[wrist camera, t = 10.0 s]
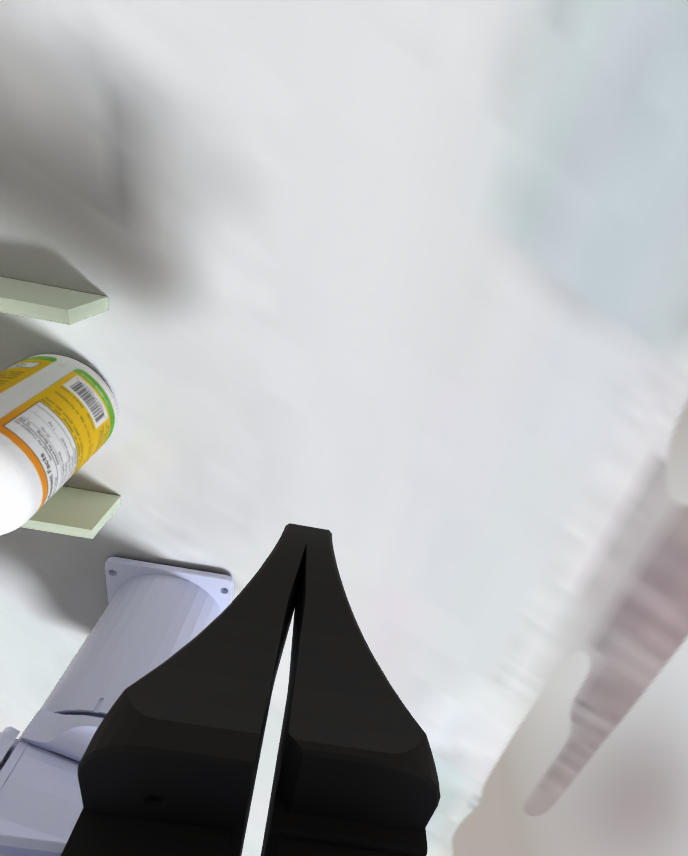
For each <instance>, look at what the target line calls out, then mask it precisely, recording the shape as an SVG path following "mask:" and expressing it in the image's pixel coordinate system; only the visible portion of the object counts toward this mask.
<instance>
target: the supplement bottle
mask: <svg viewBox="0 0 688 856" xmlns="http://www.w3.org/2000/svg"><path fill="white" fill-rule="evenodd" d="M117 422H118V408H117V404H116V401H115V399H114V396H113V394H112V392H111V390H110V389H109V387H108V386H107V384H106V383H105V382H104V381H103V379H102V378H101V377H100V376H99V375H98V374H97V373H95V372H94V371H93V370H92V369H91V368H89V367H88V366H86V365H84V364H83V363H81V362H79V361H76V360H74V359H72V358H69V357H65V356H61V355H55V354H40V355H35V356H31V357H28V358H26V359H24V360H22V361H19V362H17V363H15V364H14V365H12V366H10V367H8V368H6V369H4V370H2V371H0V535H3V534H6V533H9V532H11V531H14V530H16V529H17V528H19V527H20V526H22V525H23V524H24V523H26V522H27V521H28V520H29V519H30V518H31V517H32V516H33V515H34V514H35V513H36V512H37V511H38V510H39V509H40V508H41V507H42V506H43V505H44V504H45V503H46V502H47V501H48V500H49V499H50V498H51V497H52V496H53V495H54V494H55V493H56V492H57V491H58V490H59V489H60V488H61V487H62V486H63V485H64V484H65V482H66V481H67V480H68V479H69V478H70V477H71V476H72V475H73V474H74V473H75V472H76V471H77V470H78V469H79V468H80V467H81V466H82V465H83V464H84V463H85V462H86V461H87V460H88V459H89V458H90V457H91V456H92V455H93V454H94V453H95V452H96V451H97V450H98V449H99V448H100V447H101V446H102V445H103V444H104V443H105V442H106V441H107V440H108V439H109V438H110V436H111V435H112V434H113V432H114V430H115V428H116V425H117Z"/></svg>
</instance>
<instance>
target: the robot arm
mask: <svg viewBox="0 0 688 856" xmlns="http://www.w3.org/2000/svg"><path fill="white" fill-rule="evenodd" d="M104 566H105V577H106V587H107V598H108V606H107V608H106V609H105V611H104V612H103V614H102V615H101V617H100V618H99V620H98V621H97V623H96V624H95V626H94V628H93V629H92V631H91V632H90V634H89V635H88V637H87V638H86V640H85V641H84V643H83V644H82V646H81V648H80V649H79V651H78V652H77V654H76V655H75V657H74V658H73V660H72V661H71V663H70V664H69V666H68V668H67V669H66V671H65V672H64V674H63V675H62V677H61V678H60V680H59V681H58V683H57V684H56V686H55V688H54V689H53V691H52V692H51V694H50V695H49V697H48V698H47V700H46V701H45V703H44V704H43V706H42V707H41V709H40V710H39V711H38V712H37V714H36V715H35V717H34V718H33V719H32V721H31V722H30V724H29V725H28V726H27V728H26V729H25V730H24V732H23V733H22V735H21V736H20V737H19V739H16V737H17V736H18V734H19V732H20V731H18V730H17V729H15V728H13V727H7V728H5V729H4V730H3V732H2V733H0V856H241V854H242V849H243V843H244V838H245V833H246V827H247V822H248V817H249V811H250V806H251V801H252V795H253V790H254V785H255V779H256V774H257V769H258V763H259V758H260V753H261V748H262V742H263V737H264V732H265V726H266V721H267V716H268V710H269V705H270V700H271V695H272V690H273V686H274V682H275V677H276V674H277V670H278V666H279V663H280V659H281V656H282V652H283V648H284V645H285V641H286V637H287V634H288V630H289V627H290V623H291V619H292V616H293V612H294V608H295V612H294V624H293V637H292V649H291V662H290V675H289V685H288V693H287V700H286V706H285V713H284V719H283V725H282V731H281V737H280V743H279V749H278V755H277V761H276V768H275V774H274V780H273V786H272V792H271V798H270V804H269V810H268V816H267V822H266V828H265V834H264V840H263V846H262V852H261V856H426V855H427V840H426V830H425V827H426V826H427V824H428V822H429V820H430V818H431V817H432V815H433V813H434V811H435V809H436V808H437V806H438V803H439V800H440V790H439V781H438V776H437V772H436V767H435V763H434V759H433V755H432V752H431V748H430V745H429V742H428V739H427V736H426V734H425V732H424V731H423V730H422V728H421V727H420V726H419V725H418V723H417V722H416V721H415V719H414V718H413V717H412V715H411V714H410V712H409V711H408V710H407V708H406V707H405V706H404V704H403V703H402V701H401V700H400V698H399V697H398V695H397V694H396V692H395V691H394V689H393V688H392V686H391V685H390V683H389V682H388V680H387V678H386V676H385V675H384V673H383V671H382V670H381V668H380V666H379V665H378V663H377V661H376V660H375V658H374V656H373V654H372V653H371V651H370V649H369V647H368V645H367V643H366V641H365V639H364V637H363V635H362V633H361V631H360V628H359V626H358V624H357V622H356V619H355V617H354V615H353V612H352V610H351V607H350V605H349V602H348V599H347V597H346V594H345V591H344V588H343V585H342V581H341V578H340V575H339V571H338V568H337V564H336V559H335V555H334V550H333V544H332V533H331V532H330V531H329V530H325V529H319V528H313V527H307V526H302V525H296V524H288V525H286V526H285V529H284V531H283V533H282V535H281V537H280V539H279V541H278V543H277V544H276V546H275V547H274V549H273V551H272V552H271V554H270V555H269V557H268V558H267V559H266V561H265V562H264V564H263V565H262V566H261V568H260V569H259V571H258V572H257V573H256V574H255V576H254V577H253V578H252V579H251V580H250V582H249V583H248V584H247V585H246V587H245V588H244V589H243V590H242V591H241V593H240V594H239V595H238V596H237V597H236V598H235V599H234V600H233V589H234V580H233V578H232V577H230V576H228V575H223V574H217V573H211V572H205V571H199V570H192V569H186V568H180V567H174V566H168V565H162V564H156V563H149V562H143V561H137V560H131V559H125V558H119V557H109V558H108V559H107V561H106V562H105V564H104ZM114 570H115V571H114ZM225 588H227V589H225ZM232 600H233V601H232Z"/></svg>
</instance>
